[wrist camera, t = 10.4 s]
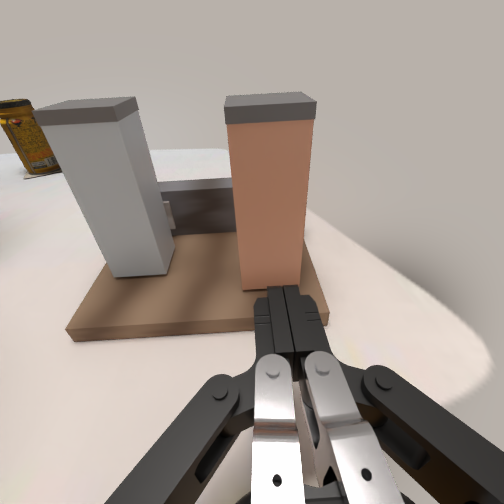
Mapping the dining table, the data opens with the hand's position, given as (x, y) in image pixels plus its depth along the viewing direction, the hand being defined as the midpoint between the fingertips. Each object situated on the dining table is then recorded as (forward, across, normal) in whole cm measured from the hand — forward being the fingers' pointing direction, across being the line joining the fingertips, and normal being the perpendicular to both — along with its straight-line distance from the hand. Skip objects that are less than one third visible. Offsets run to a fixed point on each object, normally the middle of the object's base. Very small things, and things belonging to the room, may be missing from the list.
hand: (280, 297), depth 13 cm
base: (+10, +5, +7) cm, 13 cm away
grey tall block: (+10, +11, +5) cm, 16 cm away
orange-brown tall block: (+8, 0, +5) cm, 9 cm away
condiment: (+44, +40, +8) cm, 60 cm away
